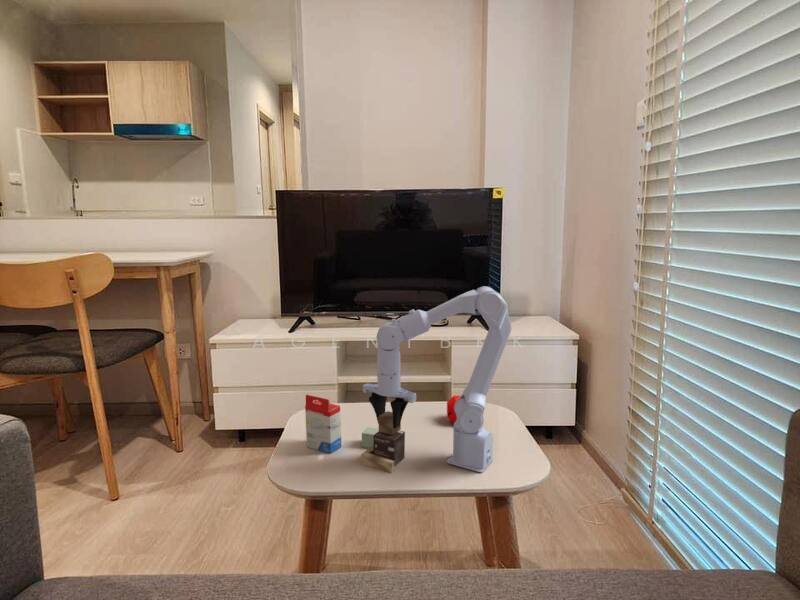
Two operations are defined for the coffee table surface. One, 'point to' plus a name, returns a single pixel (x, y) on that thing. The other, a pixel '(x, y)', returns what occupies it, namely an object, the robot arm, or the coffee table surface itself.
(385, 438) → the box
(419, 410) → the coffee table surface
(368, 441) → the block
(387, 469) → the corner jig
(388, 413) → the walnut cube
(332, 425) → the ink box
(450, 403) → the red faceted polyhedron
